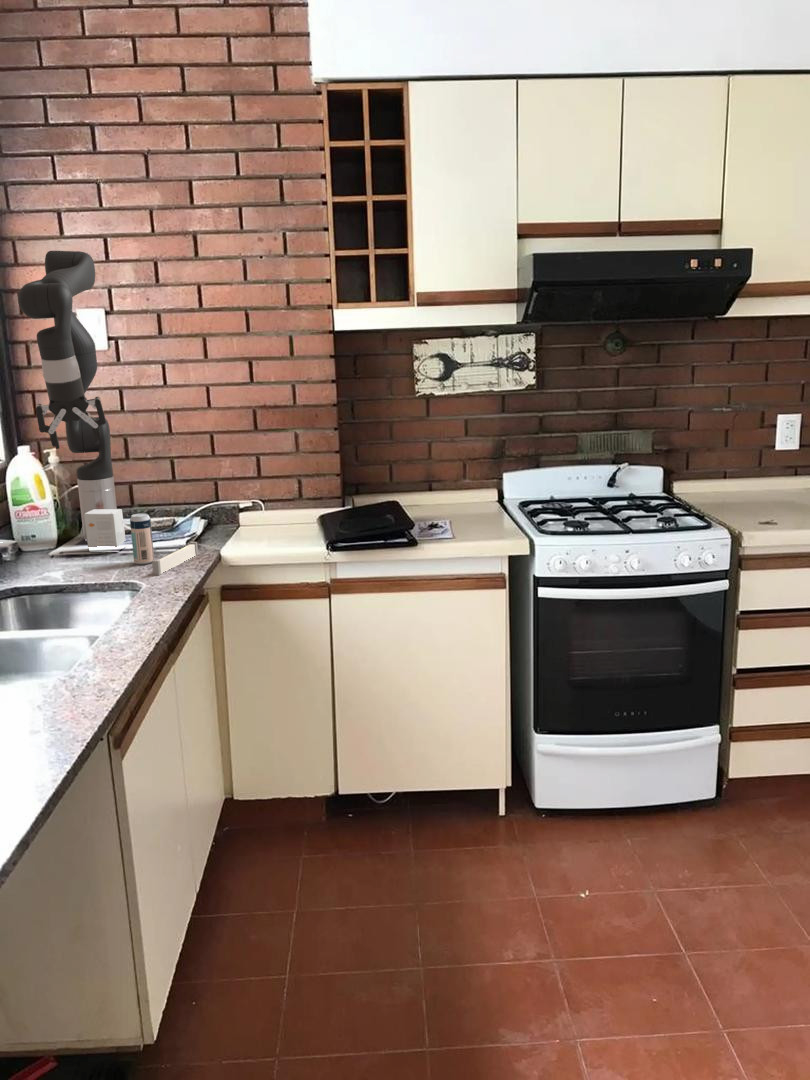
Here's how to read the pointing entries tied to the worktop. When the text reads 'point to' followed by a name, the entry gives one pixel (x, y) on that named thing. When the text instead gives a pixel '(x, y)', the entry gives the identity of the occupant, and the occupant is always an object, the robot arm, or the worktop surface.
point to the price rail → (174, 558)
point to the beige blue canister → (142, 538)
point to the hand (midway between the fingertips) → (77, 445)
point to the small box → (104, 527)
